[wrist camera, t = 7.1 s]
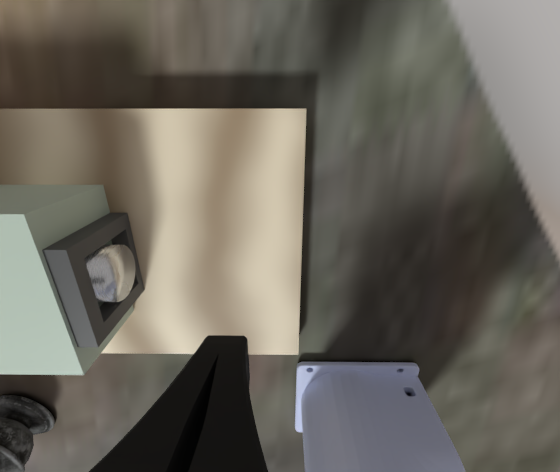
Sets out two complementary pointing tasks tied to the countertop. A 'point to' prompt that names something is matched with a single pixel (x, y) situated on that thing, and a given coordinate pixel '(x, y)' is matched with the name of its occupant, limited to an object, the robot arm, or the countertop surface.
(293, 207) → the maple board
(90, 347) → the collar block
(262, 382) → the countertop surface
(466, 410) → the countertop surface
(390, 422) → the robot arm
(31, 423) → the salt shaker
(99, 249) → the steel peg
